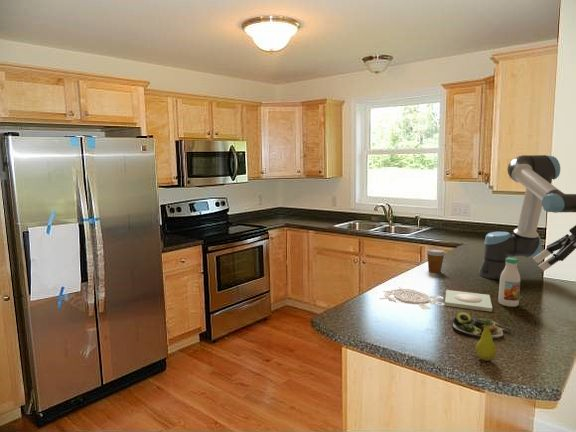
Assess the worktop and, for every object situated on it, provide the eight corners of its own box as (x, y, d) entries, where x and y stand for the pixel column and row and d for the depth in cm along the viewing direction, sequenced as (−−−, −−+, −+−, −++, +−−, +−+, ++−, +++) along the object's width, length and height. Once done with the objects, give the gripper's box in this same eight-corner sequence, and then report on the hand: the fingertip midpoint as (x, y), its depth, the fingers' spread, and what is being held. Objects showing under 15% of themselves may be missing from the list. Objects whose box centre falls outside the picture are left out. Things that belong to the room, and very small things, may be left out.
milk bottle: (495, 304, 175) (499, 258, 172) (501, 299, 180) (504, 255, 178) (515, 308, 170) (519, 261, 167) (520, 303, 175) (524, 258, 172)
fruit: (492, 366, 121) (495, 328, 120) (472, 360, 125) (474, 322, 124) (497, 359, 126) (500, 322, 124) (478, 353, 130) (480, 317, 128)
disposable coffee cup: (436, 268, 231) (437, 248, 230) (447, 273, 223) (448, 251, 221) (421, 270, 228) (423, 249, 227) (433, 274, 220) (434, 252, 218)
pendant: (393, 287, 199) (393, 284, 199) (451, 299, 182) (452, 296, 182) (372, 298, 183) (372, 295, 183) (435, 313, 165) (435, 310, 165)
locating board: (446, 292, 189) (446, 289, 189) (489, 298, 182) (489, 294, 182) (444, 305, 173) (445, 301, 172) (492, 311, 166) (492, 307, 165)
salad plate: (507, 324, 153) (508, 313, 153) (514, 344, 137) (515, 331, 136) (452, 317, 160) (452, 306, 160) (452, 335, 144) (452, 322, 143)
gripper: (603, 244, 149) (551, 279, 156) (583, 233, 171) (539, 264, 179) (587, 228, 150) (536, 264, 158) (569, 220, 173) (526, 251, 180)
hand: (537, 264), depth 168 cm, fingers open, 13 cm apart
